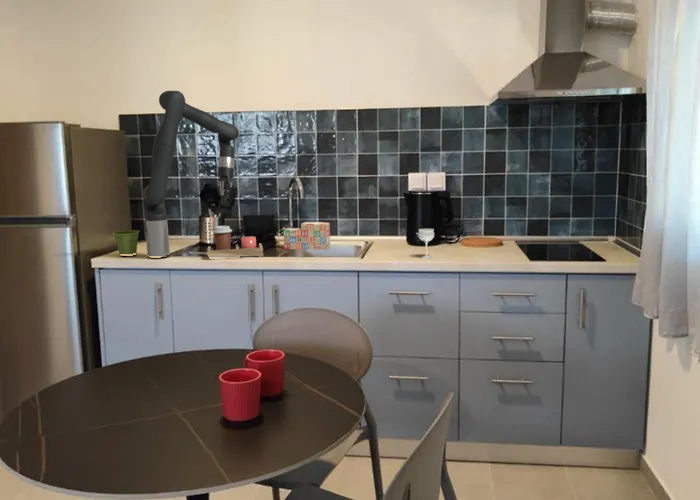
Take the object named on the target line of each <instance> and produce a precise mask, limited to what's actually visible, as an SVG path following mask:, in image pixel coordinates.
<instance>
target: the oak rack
mask: <svg viewBox="0 0 700 500" xmlns="http://www.w3.org/2000/svg"><path fill="white" fill-rule="evenodd" d="M211 247H212V246H209V245H208V246H207V257H240V256H259V257H258V258H264V248H263V244H262V243H258V247H256V248H244V249H242V248H240V247H239V244H235V248H232V249H231V248H230V249H227V250H216V249H215V250H213V249H212V250H211Z"/></svg>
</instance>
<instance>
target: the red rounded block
mask: <svg viewBox="0 0 700 500" xmlns="http://www.w3.org/2000/svg"><path fill="white" fill-rule="evenodd" d="M256 238H257V237H256V236H253V235H251V236H242V237H241V238H240V239H241V249H244V248H257V239H256Z"/></svg>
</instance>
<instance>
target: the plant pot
mask: <svg viewBox="0 0 700 500" xmlns="http://www.w3.org/2000/svg"><path fill="white" fill-rule="evenodd" d="M139 233H140V230H119V231H114V232H113V233H112V235H114V236H113V237H114V239H115V241H116V244H117V249H118V254H119V255H120V254H133V253H136V254H138V253H137V252H138V240H139V239H138V238H139Z"/></svg>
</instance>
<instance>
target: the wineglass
mask: <svg viewBox="0 0 700 500" xmlns="http://www.w3.org/2000/svg"><path fill="white" fill-rule="evenodd" d="M434 230H435V229H434V228H428V227H427V228H425V227H424V228H419V229H418V234H417V235H418V238H419V240H421V241H422V242H423V243H425V255H424V256H421V257H420V259H432V258H433V257H432V256H429V255H428V243H429V242H430V241H432V240H433V239H434V238H435V232H434Z"/></svg>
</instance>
